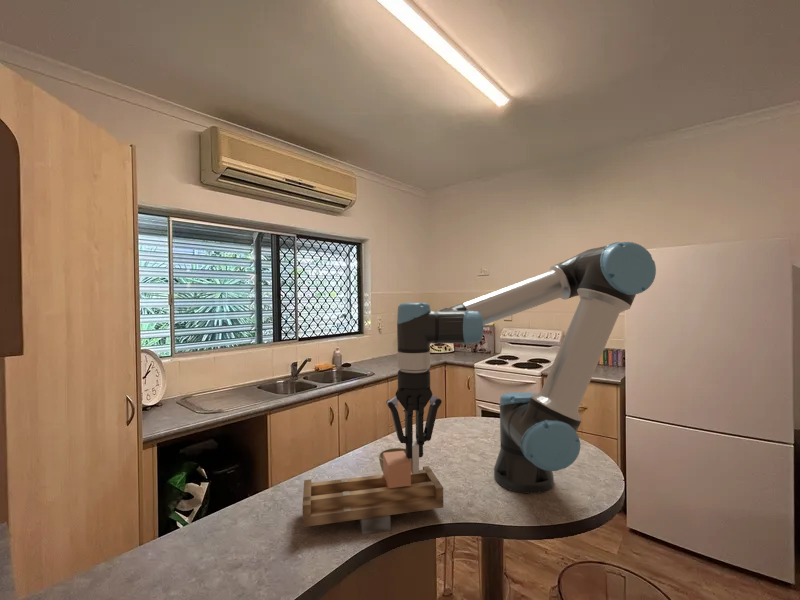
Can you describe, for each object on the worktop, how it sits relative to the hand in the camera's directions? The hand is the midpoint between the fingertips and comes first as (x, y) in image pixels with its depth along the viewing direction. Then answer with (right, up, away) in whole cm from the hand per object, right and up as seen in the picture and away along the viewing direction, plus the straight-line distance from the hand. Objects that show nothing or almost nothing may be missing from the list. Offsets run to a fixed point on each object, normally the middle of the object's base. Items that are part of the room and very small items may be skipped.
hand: (414, 471), depth 88 cm
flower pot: (-4, -9, +14) cm, 17 cm away
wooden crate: (-10, -9, -2) cm, 14 cm away
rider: (-4, -4, -1) cm, 6 cm away
